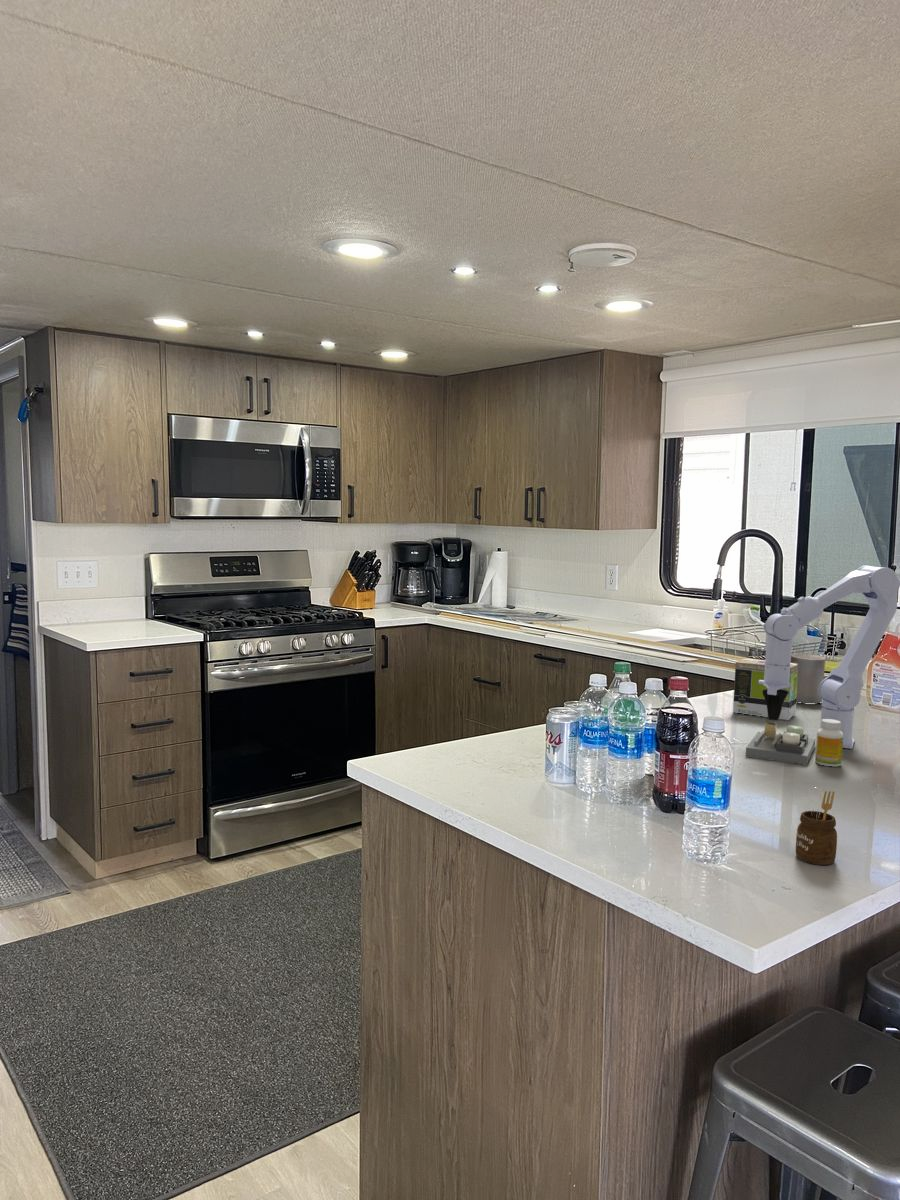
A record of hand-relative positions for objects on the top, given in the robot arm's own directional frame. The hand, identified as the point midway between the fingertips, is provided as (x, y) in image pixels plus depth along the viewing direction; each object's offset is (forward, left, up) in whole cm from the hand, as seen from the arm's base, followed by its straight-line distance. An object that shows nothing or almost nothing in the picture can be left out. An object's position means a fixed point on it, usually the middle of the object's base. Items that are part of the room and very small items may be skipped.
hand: (773, 719), depth 216 cm
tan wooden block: (+5, 0, -3) cm, 6 cm away
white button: (+13, +6, -2) cm, 15 cm away
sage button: (+6, +6, -2) cm, 8 cm away
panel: (+8, +3, -6) cm, 11 cm away
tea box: (-33, -6, -6) cm, 34 cm away
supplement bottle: (+13, +14, -6) cm, 20 cm away
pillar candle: (-60, +2, -6) cm, 60 cm away
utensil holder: (+76, +17, -6) cm, 78 cm away
